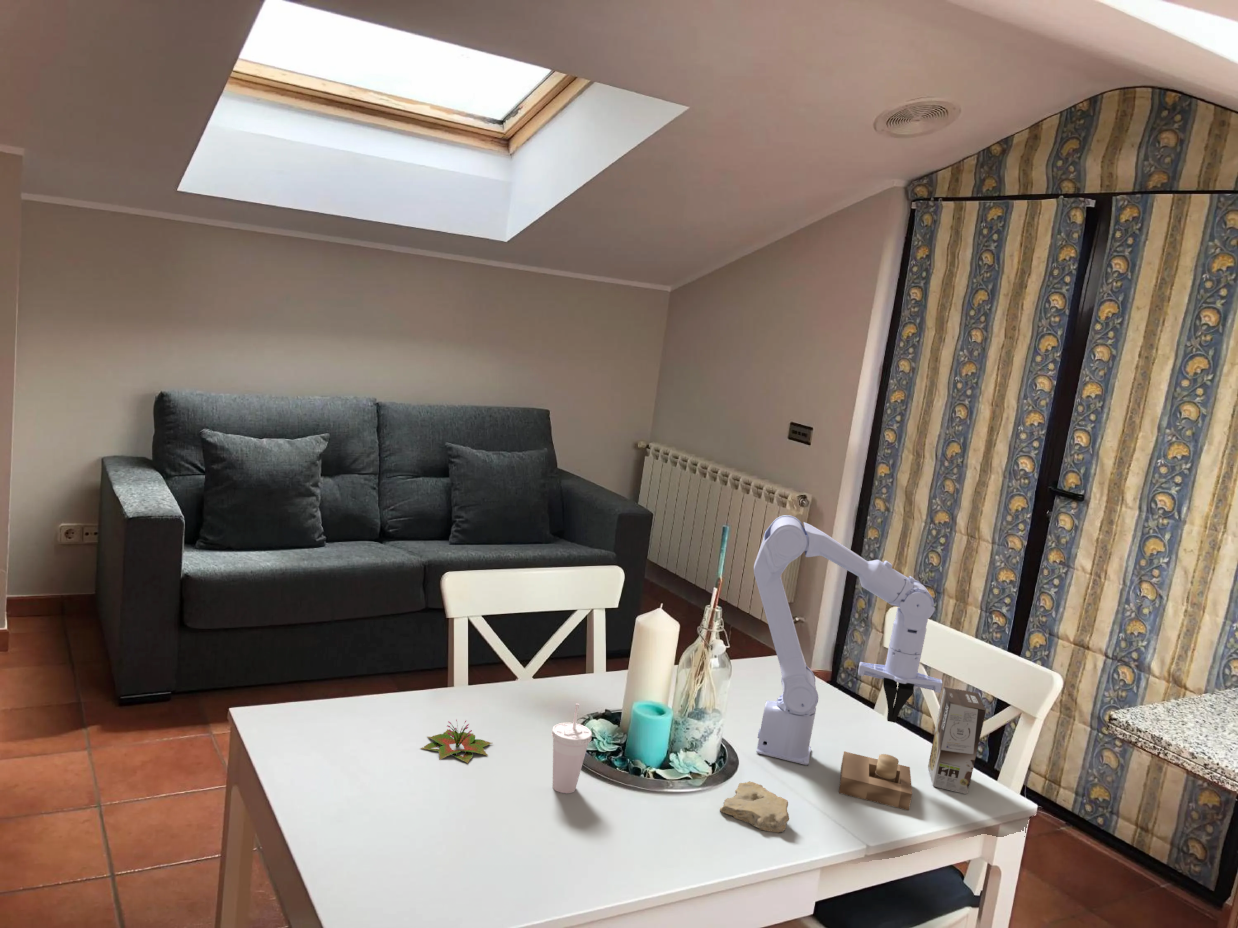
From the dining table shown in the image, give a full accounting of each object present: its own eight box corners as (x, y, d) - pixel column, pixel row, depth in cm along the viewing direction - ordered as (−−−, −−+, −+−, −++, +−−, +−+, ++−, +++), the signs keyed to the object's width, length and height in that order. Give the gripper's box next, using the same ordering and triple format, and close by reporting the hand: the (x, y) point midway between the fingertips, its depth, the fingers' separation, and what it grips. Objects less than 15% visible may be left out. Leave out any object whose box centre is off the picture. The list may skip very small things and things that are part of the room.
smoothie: (590, 786, 158) (603, 704, 156) (572, 801, 152) (584, 717, 150) (556, 773, 161) (567, 693, 158) (536, 788, 155) (548, 705, 153)
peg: (871, 791, 171) (877, 759, 170) (872, 783, 174) (879, 751, 173) (892, 797, 170) (898, 765, 169) (893, 788, 173) (899, 757, 172)
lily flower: (471, 773, 157) (474, 746, 157) (406, 752, 161) (409, 726, 161) (504, 745, 169) (507, 721, 168) (443, 727, 172) (446, 702, 172)
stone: (702, 789, 161) (756, 775, 164) (704, 809, 161) (757, 794, 165) (741, 823, 149) (798, 807, 152) (742, 845, 149) (799, 828, 153)
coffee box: (969, 795, 175) (987, 710, 172) (932, 786, 176) (949, 702, 174) (962, 773, 184) (979, 692, 181) (926, 765, 185) (943, 684, 182)
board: (839, 792, 168) (842, 776, 168) (840, 766, 179) (843, 751, 178) (908, 810, 166) (912, 793, 165) (906, 782, 176) (909, 766, 176)
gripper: (864, 646, 174) (850, 718, 176) (948, 665, 171) (933, 737, 173) (864, 635, 181) (851, 704, 183) (945, 652, 177) (931, 722, 179)
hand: (891, 719), depth 178 cm, fingers closed
